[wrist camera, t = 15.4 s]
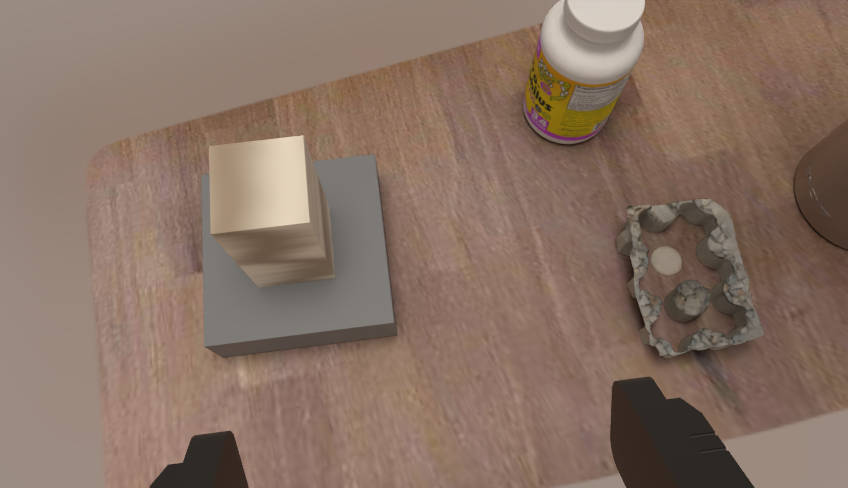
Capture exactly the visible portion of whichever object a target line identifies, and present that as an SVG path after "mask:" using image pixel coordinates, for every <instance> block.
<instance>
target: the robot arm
mask: <svg viewBox="0 0 848 488" xmlns="http://www.w3.org/2000/svg"><path fill="white" fill-rule="evenodd" d="M795 194H796V199H797V203H798V205H799V207H800V209H801V211H802V214H803V215H804V217H805V218H806V219H807V221H808V222H809V223H810V225H811V226H812V227H813V228H814V229H815V230H816V231H817V232H818V233H819V234H820V235H822V236H823V237H824V238H826V239H827V240H829V241H830V242H832V243H833V244H836V245H838V246H840V247H842V248H844V249H847V250H848V119H847V120H846V121H845V122H844V123H842V124H841V125H840V126H839V127H837V128H836V129H835V130H834V131H833V132H832V133H830V134H829V135H828V136H827V137H826V138H824V139H823V140H822V141H821V142H820V143H819V144H817V145H816V146H815V147H814V148H813V149H812V150H810V151H809V152H808V153H807V154H806V156H805V157H804V158H803V159H802V161H801V162H800V164H799V166H798V168H797V171H796V175H795ZM610 441H611V449H612V454H613V458H614V461H615V464H616V467H617V469H618V471H619V473H620V475H621V477H622V479H623V482H624V484H625V486H626V488H754V486H753V485H752V483H751V482H750V481H749V479H748V478H747V476H746V475H745V474H744V472H743V471H742V469H741V468H740V467H739V465H738V464H737V462H736V461H735V459H734V458H733V457H732V455H731V454H730V452H729V451H726V447H725V445H724V444H723V443H722V441H721V440H720V438H719V437H718V435H715V431H714V430H713V428H712V427H711V426H710V424H709V423H708V421H707V420H706V419H705V417H704V416H703V414H702V413H701V412H700V411H698V410H697V409H695V408H694V407H692V406H691V405H690V404H688V403H687V402H685V401H684V400H683V399H681V398H675V399H667V400H666V398H665V397H664V395H663V394H662V392H661V390H660V389H659V387H658V386H657V384H656V383H655V381H654V380H653V379H652V378H651V377H643V378H636V379H628V380H620V381H615V382H614V383H613V386H612V403H611V430H610ZM150 488H248V483H247V480H246V476H245V473H244V469H243V465H242V462H241V458H240V455H239V451H238V448H237V444H236V441H235V438H234V435H233V433H232V432H231V431H225V432H217V433H210V434H202V435H195V436H193V437H192V439H191V441H190V443H189V446H188V449H187V452H186V455H185V458H184V461H183V463H178V464H171V465H168V466H167V467H166V468H165V469H164V470H163V471H162V473H161V474H160V475H159V476H158V477H157V478H156V480H155V481H154V482H153V483H152V484H151V485H150Z"/></svg>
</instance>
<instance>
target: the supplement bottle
mask: <svg viewBox="0 0 848 488" xmlns="http://www.w3.org/2000/svg"><path fill="white" fill-rule="evenodd" d="M644 7H645V0H560V1H559V2H558V3H556V4H555V5H554V6H553V7H552V8H551V10H550V11H549V12H548V14H547V15H546V17H545V20H544V22H543V25H542V29H541V33H540V37H539V41H538V44H537V48H536V52H535V55H534V59H533V63H532V67H531V71H530V74H529V78H528V82H527V86H526V90H525V94H524V100H523V107H524V113H525V116H526V118H527V120H528V122H529V124H530V125H531V127H532V128H533V129H534V130H535V131H536V132H537V133H538V134H540V135H541V136H542V137H544V138H546V139H548V140H550V141H553V142H556V143H561V144H574V143H579V142H583V141H586V140H588V139H590V138H591V137H593V136H594V135H596V134H597V133H598V132H599V131H600V130H601V129H602V127H603V126H604V124H605V123H606V121H607V119H608V117H609V116H610V114H611V112H612V110H613V108H614V106H615V104H616V102H617V100H618V98H619V96H620V94H621V92H622V90H623V88H624V86H625V84H626V82H627V80H628V78H629V76H630V74H631V72H632V70H633V68H634V66H635V65H636V63H637V61H638V59H639V56H640V54H641V52H642V48H643V42H644V33H643V27H642V24H641V21H640V19H641V16H642V14H643V11H644Z"/></svg>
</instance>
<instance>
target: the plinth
mask: <svg viewBox="0 0 848 488" xmlns="http://www.w3.org/2000/svg"><path fill="white" fill-rule="evenodd" d="M313 163H314V166H315V169H316V172H317V174H318V177H319V180H320V183H321V185H322V188H323V191H324V194H325V196H326V199H327V202H328V205H329V207H330V218H331V229H332V241H333V253H334V265H335V276H336V278H335V279H327V280H318V281H310V282H302V283H294V284H286V285H278V286H269V287H261V288H258V287H257V285H256V284H255V283H254V282H253V281H252V280H251V279H250V278H249V276H248V275H247V274H246V273H245V272H244V271H243V270H242V269H241V268H240V266H239V265H238V264H237V263H236V262H235V261H234V260H233V259H232V258H231V256H230V255H229V254H228V253H227V252H226V251H225V250H224V249H223V247H222V246H221V245H220V244H219V243H218V242H217V241H216V240H215V239H214V237H213V236H212V235H211V227H210V176H209V174H203V175H201V183H202V240H203V297H204V347H206V348H208V349H209V350H211V351H213V352H214V353H216V354H218V355H220V356H221V357H231V356H239V355H246V354H254V353H262V352H270V351H278V350H285V349H293V348H301V347H309V346H317V345H324V344H332V343H340V342H348V341H356V340H364V339H371V338H379V337H387V336H395V335H397V331H396V323H395V314H394V306H393V297H392V288H391V280H390V271H389V263H388V254H387V245H386V237H385V228H384V220H383V211H382V202H381V194H380V185H379V177H378V171H377V165H376V159H375V154H373V155H364V156H356V157H347V158H339V159H330V160H322V161H313Z"/></svg>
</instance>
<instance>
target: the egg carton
mask: <svg viewBox="0 0 848 488" xmlns="http://www.w3.org/2000/svg"><path fill="white" fill-rule="evenodd" d="M625 208H626V209H627V210H628V214H627V216H628V218H629V219H628V220H627V222H626V223H625V230H624V231H623V232H621V233H620V234H619V235H618V237H617V239H616V247H617V250H618V253H622V254H625V255H628V256H630V258H631V262H632V266H633V269H634V277H633V278H632V279H631V280H630V281H629V282H628V283H627V287H628V289H629V291H630V293H631V295H632V298H636V299H637V301H638V304H639V307H640V310H641V313H642V316H643V319H644V323H645V327H643V328H642V329H640V336H641V339H642V341H643V343H644V344H647V345H651V346H654V347H656V348H657V349H658V351H659V355H660V356H663V357H664V358H671V357H677V356H678V355H680V354H683V353H686V352H688V351H690V350H694V349H695V350H704V349H708V348H710V349H711V350H720V349H724V348H726V347H729V346H731V345H738V344H741V343H744V342H747V341H751V340H754V339H756V338H759V337H761V336H764V331H763V328H762V326H761V323H760V320H759V318H758V314H757V312H756V310H755V309H754V307H753V303H752V299H751V298H752V294H751V293H750V292H749V277H748V275H747V273H746V271H745V268H744V265H743V261H742V257H741V254H740V251H739V249H738V246H737V241H736V236H735V231H734V226H733V221H732V219H731V217H730V215H729V213H728V212H727V211H726V210H725V209H724V208H722V207H721V206H720V205H718V204H717V203H716V202H714V201H713V200H711V199H695V200H691V201H684V202H672V203H669V204H665V205H656V206H651V205H640V206H627V207H625ZM678 214H681V215H683V216H684V217H685V219H686V220H687V221H688V222H690V223H691V224H694V225H702V226H703V227H704V230H705V233H706V237H705V238H703V239H702V240H701V241H700V242H699V243H698V244H697V247H696V256H697V259H698V260H699V261H700V263H701V264H703V265H704V266H706V267H708V268H713V269H717V270H718V273H719V276H720V279H721V282H720V283H718V284H717V285H715V286H714V287H713V289H712V290H711V292H710V290H709V289H708V288H706V287H704V286H703V285H702V284H701V283H700V282H698V281H695V280H687V281H686V280H685V281H683V282H682V283H680V284H679V285H678V286H677V287H676V288H675V289H674V290H672V291H671V292H670V293H669V294H668V295H667V296H666V298H665V301H664V308H665V311H666V313H667V314H668V316H669V317H670V318H672V319H673V320H675V321H679V322H687V321H689V320H691V319H693V318H695V317H696V316H698V315H700V314H702V313H703V312H704V311H705V310H706V309H707V307H708V305H709V303H710V299H711V303H712V305H713V306H714V308H715V309H716V310H718V311H719V312H721V313H723V314H727V315H732V316H733V319H734V321H735V324H736V329H734V330H732V331H731V332H729V333H728V334H727V336H726V337H725V335H724V334H723V333H720V332H713V331H711V330H710V329H707V328H703V329H699V330H698V331H697V332H696V333H694V334H692V335H690V336H688V337H686V338H685V339H683V340H682V341H681V342H680V344H679V346H678V353H675V352H674V351H673V349H672V346H671V344H670V343H669V342H668V341H666V340H664V339H662V338H659V339H658V338H654V337H653V335H652V333H651V331H650V325H651V324H653V322H654V321H655V320H656V319H657V318H658V317H659V313H660V309H661V304H662V300H661V298H660V297H656V296H654V295H652V294H651V293H649V292H648V291H646V290H641V289H639V280H640V278H641V277H642V276H643V275H644V274H645V273H646V271H647V269H648V267H647V266H648V263H649V258H648V255H647V254H648V252H649V250H648V249H647V248H646V247H645V246H644V244H643V243H642V242H641V229H640V224H641V226H642V227H643V228H644V229H645V230H647V231H649V232H660V231H662V230H664V229H666V228H667V227H668V226H669V225H670V224H671V223H672V222H673V221H674V220H675V219H676V217H677V215H678ZM639 223H640V224H639ZM651 264H652V265H653V267H654V269H655V270H656V271H657V272H658V273H660V274H661V275H665V276H672V275H675V274H676V273H677V272H679V271H680V269H681V267H682V257H681V255H680V253H679V252H678V251H677V250H676V249H674V248H672V247H670V246H661V247H658V248H657V249H655V250H654V251H653V252H652V255H651Z"/></svg>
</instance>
